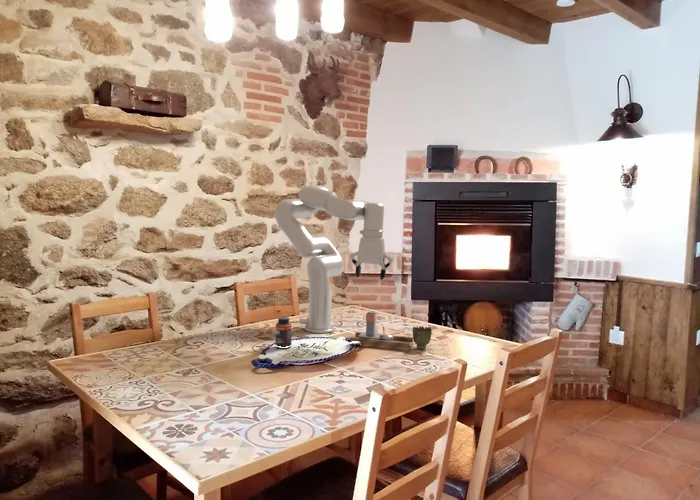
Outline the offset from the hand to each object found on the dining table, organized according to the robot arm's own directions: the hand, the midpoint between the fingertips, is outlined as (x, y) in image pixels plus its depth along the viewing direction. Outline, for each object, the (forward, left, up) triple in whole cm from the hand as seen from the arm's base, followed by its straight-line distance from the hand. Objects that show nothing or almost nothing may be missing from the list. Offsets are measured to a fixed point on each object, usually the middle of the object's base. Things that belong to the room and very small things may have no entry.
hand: (370, 277), depth 220 cm
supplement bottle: (-28, -20, -26) cm, 43 cm away
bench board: (+6, -4, -25) cm, 26 cm away
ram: (+4, -4, -24) cm, 24 cm away
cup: (+22, -4, -26) cm, 34 cm away
